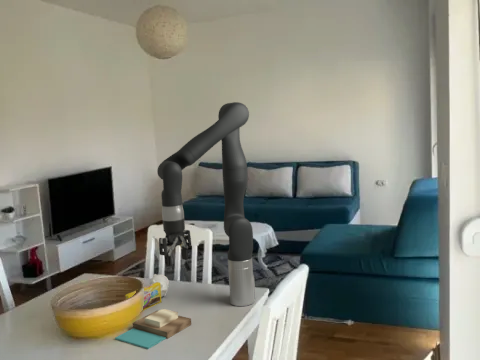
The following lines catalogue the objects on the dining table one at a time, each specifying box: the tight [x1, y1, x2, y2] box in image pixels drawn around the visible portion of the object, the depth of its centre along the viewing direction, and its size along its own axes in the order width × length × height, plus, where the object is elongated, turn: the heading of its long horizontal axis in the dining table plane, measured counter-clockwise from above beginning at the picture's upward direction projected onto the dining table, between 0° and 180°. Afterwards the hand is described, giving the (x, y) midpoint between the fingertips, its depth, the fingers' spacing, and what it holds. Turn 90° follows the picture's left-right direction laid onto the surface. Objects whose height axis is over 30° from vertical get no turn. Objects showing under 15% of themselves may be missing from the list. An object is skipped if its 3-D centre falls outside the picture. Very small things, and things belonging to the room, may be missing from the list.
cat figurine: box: [149, 273, 170, 298], centre depth 196 cm, size 9×11×12 cm
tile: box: [145, 308, 179, 328], centre depth 165 cm, size 9×7×2 cm
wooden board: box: [132, 310, 192, 340], centre depth 165 cm, size 12×16×2 cm
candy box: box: [124, 282, 162, 311], centre depth 182 cm, size 16×2×8 cm, turn 143°
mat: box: [114, 327, 167, 350], centre depth 157 cm, size 8×15×1 cm, turn 56°
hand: (177, 262), depth 171 cm, fingers open, 8 cm apart
